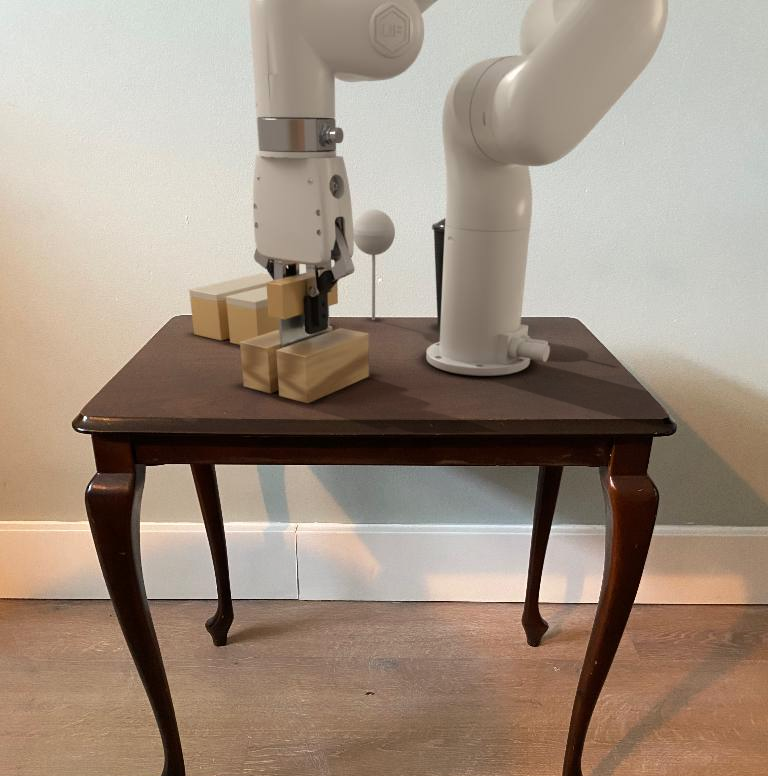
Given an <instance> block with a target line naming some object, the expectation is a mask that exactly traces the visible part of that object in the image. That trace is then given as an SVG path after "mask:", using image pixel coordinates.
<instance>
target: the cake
mask: <svg viewBox="0 0 768 776" xmlns="http://www.w3.org/2000/svg"><path fill="white" fill-rule="evenodd" d="M269 281H273V278H272V277H271V275H270V274H269V273H263V272H260V273H256V274H251V275H247V276H243V277H239V278H234V279H230V280H229V279H228V280H225V281H220V282H216V283H212V284H208V285H203V286H198V287H194V288H190V289H188V293H189V301H190V309H191V320H192V326H193V334H194V335H196V336H200V337H204V338H209V339H213V340H217V341H220V342H221V341H225V340H228V339H229V342H230V344H234V345H238V346H240V342H241V341H245V340H248V339H251V338H254V337H257V336H260V335H264V334H267V333H270V332H273V331H276V330H279V320H278V318H274V317H269V315H268V300H267V285H266V282H269Z"/></svg>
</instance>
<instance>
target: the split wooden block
mask: <svg viewBox="0 0 768 776" xmlns="http://www.w3.org/2000/svg"><path fill="white" fill-rule="evenodd" d="M329 326H330V332H328V333H325V334H322V335H319V336H316V337H313V338H310V339H307V340H304V341H302V342H299V343H296V344H293V345H290V346H287V347H284V348H281V349H280V337H279V330H276V331H273V332H270V333H267V334H264V335H260V336H257V337H254V338H251V339H248V340H245V341H241V342H240V345H239V348H240V358H241V371H242V382H243V387H245V388H248V389H252V390H256V391H260V392H264V393H267V394H272V393H275V392H278V396H279V397H281V398H286V399H290V400H293V401H296V402H297V401H298V402H301V403H304V404H310V403H313V402H314V401H317V400H319V399H321V398H323V397H325V396H328V395H330V394H332V393H335V392H337V391H340V390H342V389H344V388H346V387H348V386H351V385H353V384H355V383H357V382H359V381H363V380H364V379H366V378H368V377H370V333H368V332H363V331H358V330H353V329H348V328H342V327H340V328H337V329H333V326H332V325H329Z"/></svg>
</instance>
